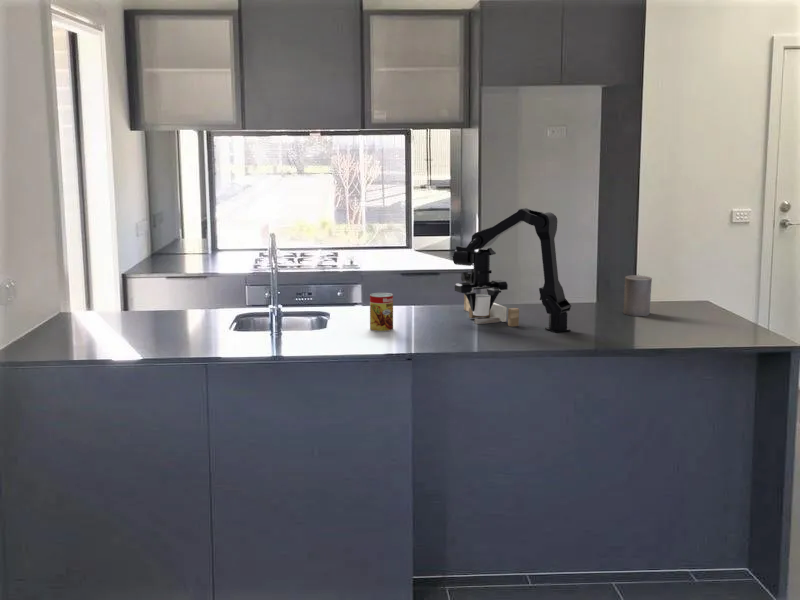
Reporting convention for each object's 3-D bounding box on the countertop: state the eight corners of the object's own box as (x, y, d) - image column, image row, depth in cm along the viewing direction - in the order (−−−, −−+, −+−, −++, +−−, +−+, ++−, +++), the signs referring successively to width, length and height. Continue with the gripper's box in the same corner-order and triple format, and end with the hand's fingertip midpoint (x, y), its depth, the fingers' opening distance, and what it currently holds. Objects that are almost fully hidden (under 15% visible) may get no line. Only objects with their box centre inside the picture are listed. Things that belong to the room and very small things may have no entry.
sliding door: (506, 321, 334) (506, 307, 333) (483, 323, 330) (484, 308, 329) (481, 312, 350) (481, 298, 349) (460, 314, 346) (460, 300, 345)
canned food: (390, 331, 318) (390, 296, 316) (367, 330, 319) (367, 296, 317) (395, 327, 325) (395, 292, 323) (372, 326, 327) (372, 292, 325)
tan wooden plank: (519, 325, 328) (520, 308, 327) (488, 328, 323) (488, 311, 322) (473, 309, 358) (473, 293, 357) (443, 311, 353) (443, 295, 352)
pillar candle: (617, 312, 352) (619, 272, 349) (638, 310, 356) (640, 271, 353) (634, 317, 343) (636, 276, 340) (655, 315, 347) (657, 274, 344)
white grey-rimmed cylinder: (491, 316, 333) (491, 296, 332) (471, 316, 333) (472, 296, 332) (489, 312, 340) (490, 293, 338) (470, 312, 340) (470, 293, 338)
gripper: (493, 262, 344) (492, 304, 347) (447, 265, 337) (447, 308, 339) (509, 266, 334) (508, 309, 337) (462, 269, 327) (461, 313, 329)
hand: (481, 310), depth 336 cm, fingers closed on white grey-rimmed cylinder, 6 cm apart
